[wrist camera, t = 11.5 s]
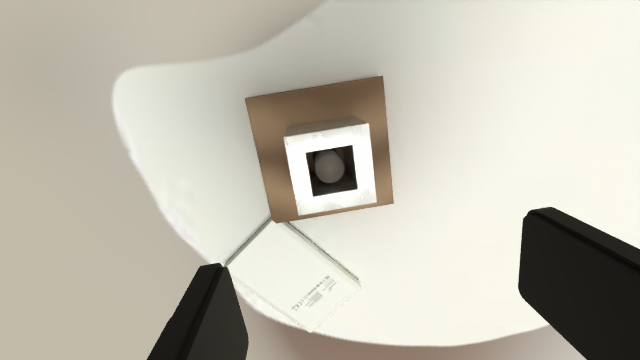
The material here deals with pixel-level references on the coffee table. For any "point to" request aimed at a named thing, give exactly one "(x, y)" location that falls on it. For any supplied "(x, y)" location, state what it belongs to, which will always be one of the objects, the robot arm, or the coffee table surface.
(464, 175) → the coffee table surface
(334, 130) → the grey hollow cube
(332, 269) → the external hard drive
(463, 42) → the coffee table surface
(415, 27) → the coffee table surface
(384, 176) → the shaft block
